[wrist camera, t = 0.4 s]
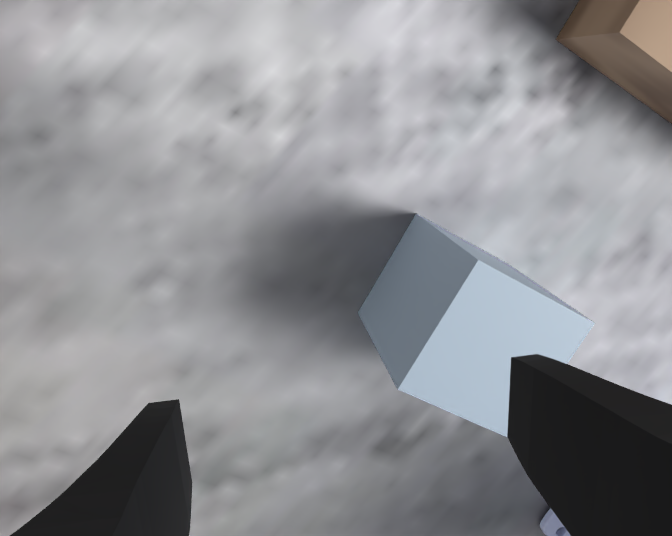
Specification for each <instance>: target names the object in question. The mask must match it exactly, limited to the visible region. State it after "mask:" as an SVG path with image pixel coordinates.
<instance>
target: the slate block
mask: <svg viewBox="0 0 672 536" xmlns="http://www.w3.org/2000/svg"><path fill="white" fill-rule="evenodd" d="M358 315H359V317H360V318H361V320H362V322H363V324H364V326H365V328H366V330H367V332H368V334H369V336H370V338H371V340H372V341H373V343H374V345H375V347H376V349H377V351H378V353H379V355H380V357H381V359H382V361H383V363H384V364H385V366H386V368H387V370H388V372H389V374H390V376H391V378H392V380H393V382H394V384H395V386H396V387H397V389H398V390H400V391H402V392H404V393H407V394H409V395H411V396H413V397H416V398H418V399H420V400H423V401H425V402H427V403H429V404H432V405H434V406H436V407H439V408H441V409H443V410H446V411H448V412H450V413H452V414H455V415H457V416H459V417H462V418H464V419H466V420H468V421H471V422H473V423H475V424H478V425H480V426H482V427H484V428H487V429H489V430H491V431H494V432H496V433H498V434H501V435H503V436H505V437H507V433H508V412H509V390H510V369H511V357H517V356H525V355H533V354H539V355H543V356H546V357H549V358H552V359H555V360H557V361H560V362H563V363H565V364H567V363H568V362H569V360H570V359H571V357H572V356H573V354H574V353H575V351H576V350H577V349H578V347H579V346H580V344H581V343H582V341H583V340H584V338H585V337H586V335H587V334H588V333H589V331H590V330H591V328H592V327H593V325H594V324H595V323H594V322H593V321H591V320H590V319H588V318H587V317H585V316H584V315H583V314H581V313H580V312H578V311H577V310H575V309H574V308H572V307H571V306H569V305H568V304H566V303H565V302H563V301H562V300H561V299H559V298H558V297H556V296H555V295H553V294H552V293H550V292H549V291H547V290H546V289H544V288H543V287H541V286H540V285H539V284H537V283H536V282H534V281H533V280H531V279H530V278H528V277H527V276H525V275H524V274H522V273H521V272H519V271H518V270H517V269H515V268H514V267H512V266H511V265H509V264H508V263H506V262H504V261H502V260H500V259H499V258H497V257H495V256H493V255H491V254H489V253H488V252H486V251H484V250H482V249H480V248H478V247H477V246H475V245H473V244H471V243H469V242H468V241H466V240H464V239H462V238H460V237H458V236H457V235H455V234H453V233H451V232H449V231H447V230H446V229H444V228H442V227H440V226H438V225H437V224H435V223H433V222H431V221H429V220H427V219H426V218H424V217H422V216H420V215H418V214H417V213H416V215H415V216H414V218H413V220H412V221H411V223H410V225H409V226H408V228H407V230H406V232H405V233H404V235H403V237H402V238H401V240H400V242H399V243H398V245H397V247H396V249H395V250H394V252H393V254H392V255H391V257H390V259H389V260H388V262H387V264H386V266H385V267H384V269H383V271H382V272H381V274H380V276H379V277H378V279H377V281H376V283H375V284H374V286H373V288H372V289H371V291H370V293H369V294H368V296H367V298H366V300H365V301H364V303H363V305H362V306H361V308H360V310H359V311H358ZM507 438H508V437H507Z"/></svg>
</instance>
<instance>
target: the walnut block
mask: <svg viewBox="0 0 672 536" xmlns="http://www.w3.org/2000/svg"><path fill="white" fill-rule="evenodd" d="M556 40H557V41H558V42H560V43H561V44H562V45H564V46H565V47H567V48H568V49H569V50H571V51H572V52H573V53H575V54H576V55H578V56H579V57H580V58H582V59H583V60H584V61H586V62H587V63H589V64H590V65H591V66H593V67H594V68H595V69H597V70H598V71H600V72H601V73H602V74H604V75H605V76H606V77H608V78H609V79H611V80H612V81H613V82H615V83H616V84H617V85H619V86H620V87H622V88H623V89H624V90H626V91H627V92H628V93H630V94H631V95H633V96H634V97H635V98H637V99H638V100H639V101H641V102H642V103H644V104H645V105H646V106H648V107H649V108H650V109H652V110H653V111H655V112H656V113H657V114H659V115H660V116H662V117H663V118H664V119H666V120H667V121H668V122H670V123H671V124H672V0H579V2H578V3H577V5H576V7H575V8H574V10H573V12H572V13H571V15H570V17H569V18H568V20H567V22H566V23H565V25H564V27H563V28H562V30H561V31H560V33H559V35H558V36H557V38H556Z"/></svg>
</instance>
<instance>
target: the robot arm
mask: <svg viewBox="0 0 672 536" xmlns="http://www.w3.org/2000/svg"><path fill="white" fill-rule="evenodd" d="M507 437H508V439H509V441H510V443H511V445H512V447H513V449H514V451H515V453H516V455H517V457H518V459H519V461H520V462H521V464H522V466H523V468H524V470H525V472H526V473H527V475H528V477H529V478H530V480H531V481H532V482H533V484H534V485H535V487H536V488H537V490H538V491H539V492H540V494H541V495H542V497H543V498H544V499H545V501H546V502H547V504H548V505H549V506H550V509H549V511H548V512H547V513H546V515H545V516H544V518H543V519H542V521H541V523H540V528H541V530H542V531H543V533H544V534H545V535H546V536H672V405H671V404H668V403H665V402H662V401H659V400H657V399H654V398H651V397H648V396H645V395H643V394H640V393H637V392H635V391H632V390H630V389H627V388H624V387H622V386H619V385H617V384H614V383H612V382H609V381H607V380H604V379H602V378H600V377H597V376H595V375H592V374H590V373H587V372H585V371H583V370H580V369H578V368H575V367H573V366H570V365H568V364H565V363H563V362H560V361H557V360H555V359H552V358H549V357H546V356H543V355H539V354H533V355H525V356H517V357H511V369H510V390H509V412H508V433H507ZM191 498H192V479H191V472H190V466H189V460H188V453H187V447H186V441H185V435H184V428H183V422H182V416H181V409H180V403H179V399H178V400H170V401H162V402H154V403H148V404H147V405H146V406H145V408H144V409H143V410H142V411H141V412H140V413H139V414H138V415H137V416H136V418H135V419H134V420H133V421H132V422H131V423H130V424H129V426H128V427H127V428H126V429H125V430H124V431H123V432H122V433H121V435H120V436H119V437H118V438H117V439H116V440H115V441H114V442H113V443H112V445H111V446H110V447H109V448H108V449H107V450H106V451H105V452H104V453H103V454H102V455H101V456H100V458H99V459H98V460H97V461H96V462H94V463H93V464H92V465H91V466H90V467H89V468H88V469H87V470H86V471H85V472H84V473H83V474H82V475H81V476H80V477H79V478H78V479H77V480H76V481H75V482H74V483H73V484H72V485H71V486H70V487H69V488H68V489H67V490H66V491H65V492H63V493H62V494H61V495H60V496H59V497H58V498H57V499H55V500H54V501H53V502H52V503H51V504H50V505H48V506H47V507H46V508H45V509H44V510H42V511H41V512H40V513H39V514H37V515H36V516H35V517H34V518H32V519H31V520H30V521H29V522H27V523H26V524H25V525H24V526H22V527H21V528H20V529H18V530H17V531H16V532H14V533H13V534H12V535H10V536H189V531H190V519H191ZM559 528H560V529H559Z"/></svg>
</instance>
